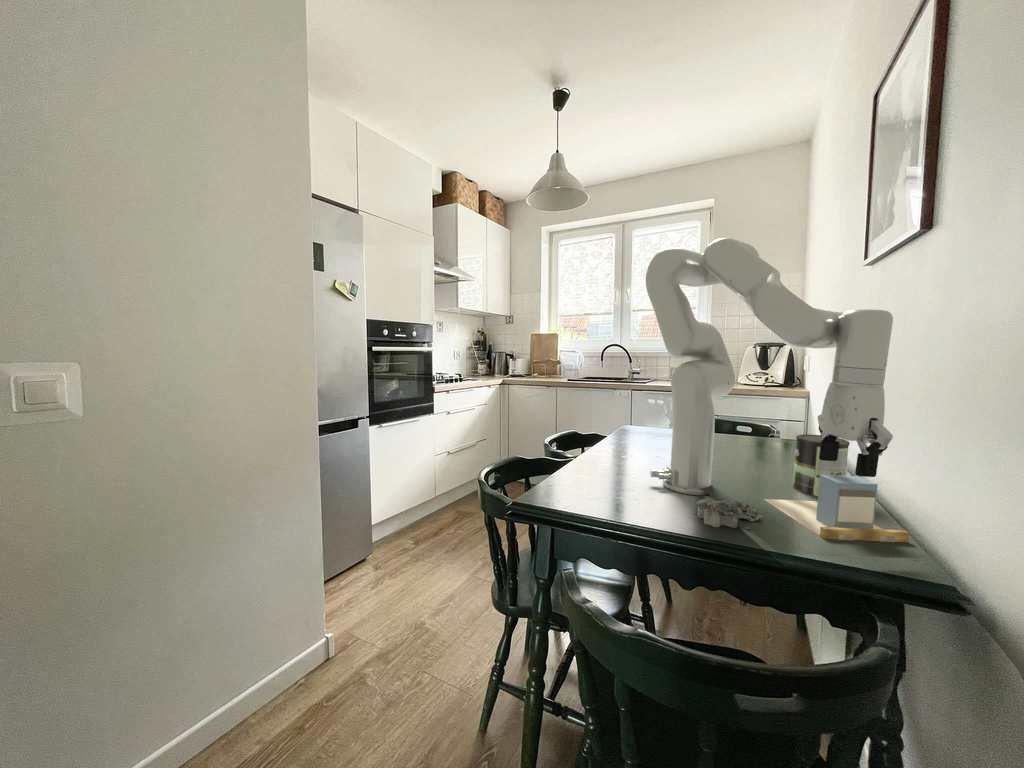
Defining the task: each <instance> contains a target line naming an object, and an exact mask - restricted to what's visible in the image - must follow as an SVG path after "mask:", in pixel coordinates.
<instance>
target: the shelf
mask: <svg viewBox="0 0 1024 768" xmlns="http://www.w3.org/2000/svg"><path fill="white" fill-rule="evenodd" d="M763 501H765V502H766V503H768V504H770V505H771V506H772V507H774V508H776V509H778V511H781V512H782V513H784V515H787V516H788V517H789V518H791V519H793V520H794V521H796V522H798V523H799V524H800V525H802V526H804V527H805V528H807V529H808V530H809V531H811V532H813V533H814V534H816V535H817V536H819V537H820V538H821V539H823V540H839V541H869V542H881V543H909V540H910V532H909V531H907V530H905V529H902V530H901V529H884V528H882V527H880V526H878V525H876V524H874V527H873V529H861V528H838V527H827V526H826V525H824V524H822V523H821V522H819V521H817V520H816V515H817V503H818V500H798V499H796V500H795V499H774V498H773V499H772V498H771V499H770V498H763Z"/></svg>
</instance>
